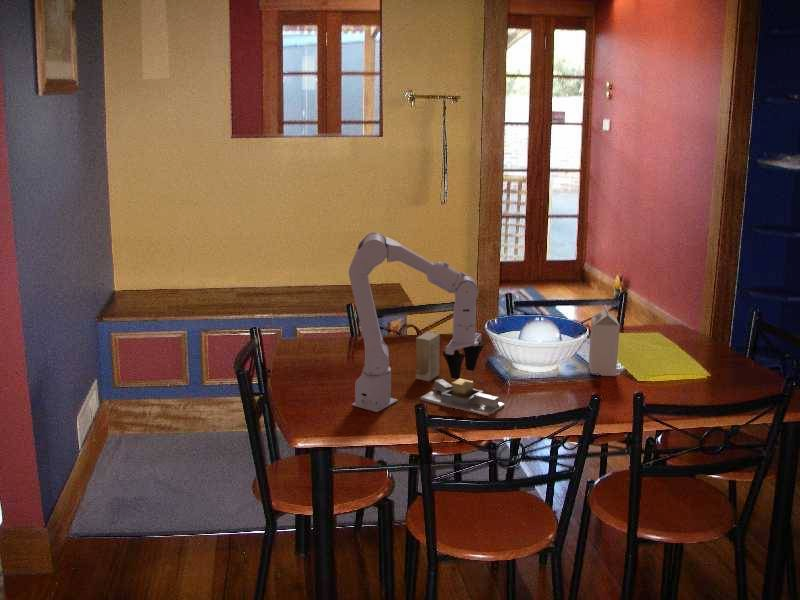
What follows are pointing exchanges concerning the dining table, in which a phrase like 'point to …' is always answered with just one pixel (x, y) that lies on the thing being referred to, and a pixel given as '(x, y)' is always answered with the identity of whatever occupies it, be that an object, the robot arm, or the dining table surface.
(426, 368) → the skincare box
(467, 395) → the block
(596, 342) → the milk carton
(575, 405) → the dining table surface
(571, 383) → the dining table surface
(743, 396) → the dining table surface
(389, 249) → the robot arm
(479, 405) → the coupling bench
